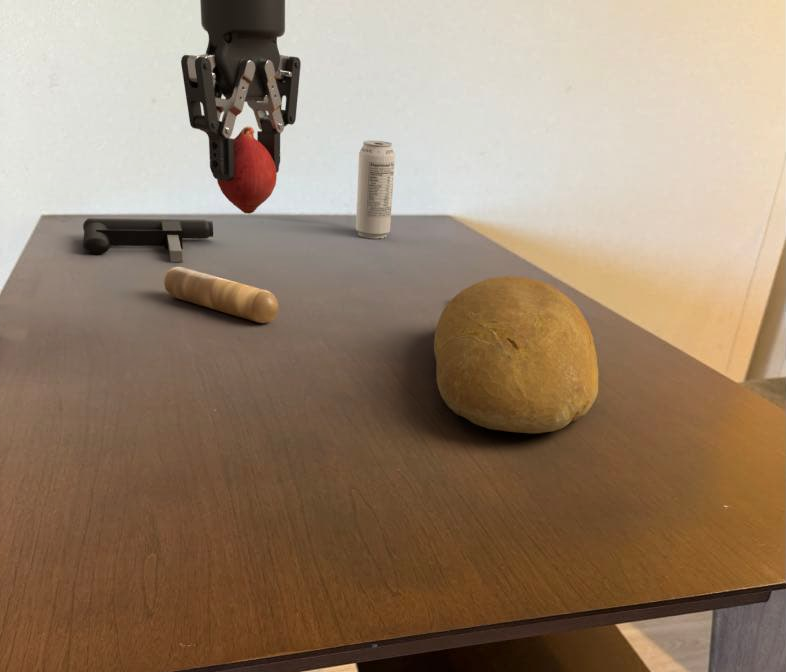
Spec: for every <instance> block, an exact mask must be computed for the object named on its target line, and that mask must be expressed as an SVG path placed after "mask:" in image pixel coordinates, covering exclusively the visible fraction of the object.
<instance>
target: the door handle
mask: <svg viewBox="0 0 786 672" xmlns="http://www.w3.org/2000/svg"><path fill="white" fill-rule="evenodd" d="M82 229H83V248H84V250H85V251H87V252H88V253H90V254H94V255H101V254H104V253H106V252H108V251H109V250H110V247H164V250H166V249H167V250H168V254H169V259H170V263H183V251H182V249H184V246H183V245H184V244H183V239H188V240H189V239H190V240H191V239H199V240H200V239H202V240H203V239H204V240H205V239H209V238H214V223H213V220H208V219H206V218H146V217H145V218H143V217H142V218H141V217H139V218H136V217H135V218H134V217H133V218H132V217H89V218H86V219H85V220H84V222H83V224H82Z"/></svg>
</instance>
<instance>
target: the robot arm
mask: <svg viewBox="0 0 786 672" xmlns="http://www.w3.org/2000/svg"><path fill="white" fill-rule="evenodd" d="M199 2H200V24H201V27H202V29H203V30H204V31H205V32H206V33H207V35H208V42H207V47H206V50H205V53H204V54H199V55H193V54H191V55H190V54H183V55H182V57H181V58H180V59H181V60H180V64H181V71H182V72H181V73H182V78H183V85H184V93H185V99H186V105H187V113H188V119H189V125H190V126H191V128H192V129H194V130H199V131H201V132H204V133H205V134H206V135H207V137H208V149H209V150H208V151H209V152H208V154H209V155H208V156H209V168H210V171H211V174H212V177H213V179H215V180H217V179H219V180H224V181H230V180H233V179H234V143H233V139H234V138H231V136H232V135H233V131H234V128H235V122H236V120H237V117H238V116H239V115H240V114H241V113H242V112H243V109H244V106H245V103H247V105H248V107H249V108H250V109H251V110H252V112H253V114H254V117H255V121H256V123H257V127H258V129H259V130H257V137H256V138H257V139H256V140H257V141H259V142H260V143H261V144H262V145H263V146H264V147H265V148H266V149H267V151H268V152H269V153H270V155H271V157H272V159H273V161H274V164H275V167H276V173H277V174H278V173H279V170H280V164H281V134H282V133H283V131H284V130H285V127H287V126H288V125H291V126H292V125H294V124H295V122H296V119H297V118H296V117H297V107H298V97H299V86H300V76H301V67H302V66H301V63H302V62H301V59H300V58H299V57H298V56H291V55H282V54H280V50H279V47H278V38H280V37H282V36H284V35H285V33H286V0H200V1H199ZM222 96H223V97H224V98H223V97H222ZM284 96H285V106H284V109H282V107H283V98H284ZM202 109H203V112H202ZM222 113H223V114H222ZM221 115H222V119H221V120H220V118H221Z"/></svg>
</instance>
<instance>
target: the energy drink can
mask: <svg viewBox="0 0 786 672" xmlns="http://www.w3.org/2000/svg"><path fill="white" fill-rule="evenodd" d="M362 142H363V143H362V146H361V148H360V150H359V152H358V169H357V170H358V171H357V191H356V192H357V193H356V212H355V214H356V215H355V230H356V231H357V232H358V236H360V237H362V238H366V239H373V240H375V239H376V240H380V239H379V238H381V239H385V238H387V235H388V234H389V233H390V231H391V219H392V204H393V189H394V173H395V158H396V157H395V156H396V154H395V152H394V150H393V143H392V142H389V141H384V140H364V141H362ZM384 237H385V238H384Z"/></svg>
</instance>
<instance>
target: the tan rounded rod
mask: <svg viewBox="0 0 786 672" xmlns="http://www.w3.org/2000/svg"><path fill="white" fill-rule="evenodd" d="M163 285H164V289H165V290H166V292H167V293H168V294H169V295H170V296H171V297H173V298H175V299H177V300H181V301H185V302H188V303H192V304H194V305H197V306H198V305H199V306H201V307H205V308H208V309H210V310H211V309H212V310H215V311H219V312H222V313H224V314H228V315H231V316H235V317H238V318H242V319H245V320H248V321H253V322H255V323H259V324H267V323H270V322H272V321H273V320H274V319H275V318H276V317H277V315H278V312H279V307H280V306H279V302H278V299H277V297H276V296H275V295H274V294H273V293H272V292H271V291H269V290H266V289H263V288H259V287H256V286H252V285H247V284H244V283H241V282H237V281H234V280H230V279H227V278H223V277H219V276H215V275H211V274H208V273H204V272H201V271H197V270H195V269H189V268H186V267H183V266H175V267H172V268H171V269H169V270H168V271H167V272H166V273H165V275H164V278H163Z"/></svg>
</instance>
